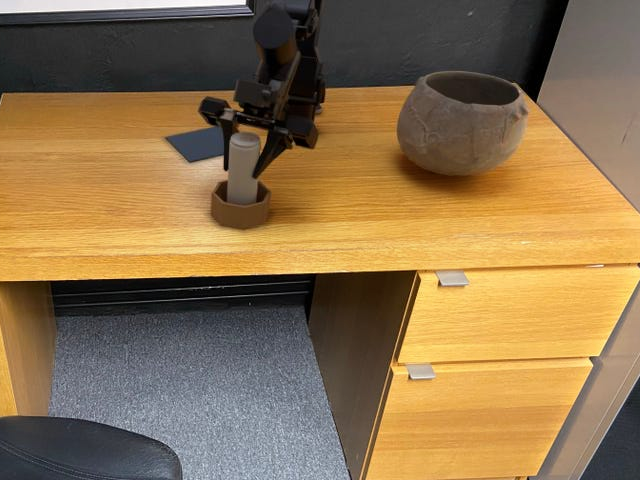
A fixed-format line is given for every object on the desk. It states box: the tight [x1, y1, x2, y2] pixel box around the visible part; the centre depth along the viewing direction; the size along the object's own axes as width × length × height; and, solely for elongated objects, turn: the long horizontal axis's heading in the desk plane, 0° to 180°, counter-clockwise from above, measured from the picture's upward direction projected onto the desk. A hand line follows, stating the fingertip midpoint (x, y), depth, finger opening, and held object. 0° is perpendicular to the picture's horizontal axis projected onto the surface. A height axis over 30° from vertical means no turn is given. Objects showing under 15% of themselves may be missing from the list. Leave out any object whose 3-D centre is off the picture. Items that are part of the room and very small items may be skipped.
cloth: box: [165, 126, 224, 163], centre depth 133 cm, size 14×11×1 cm
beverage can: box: [227, 131, 262, 206], centre depth 110 cm, size 5×5×12 cm
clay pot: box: [396, 70, 531, 176], centre depth 121 cm, size 21×21×15 cm
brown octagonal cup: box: [210, 179, 272, 230], centre depth 113 cm, size 9×9×4 cm
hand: (239, 174), depth 109 cm, fingers closed on beverage can, 5 cm apart
